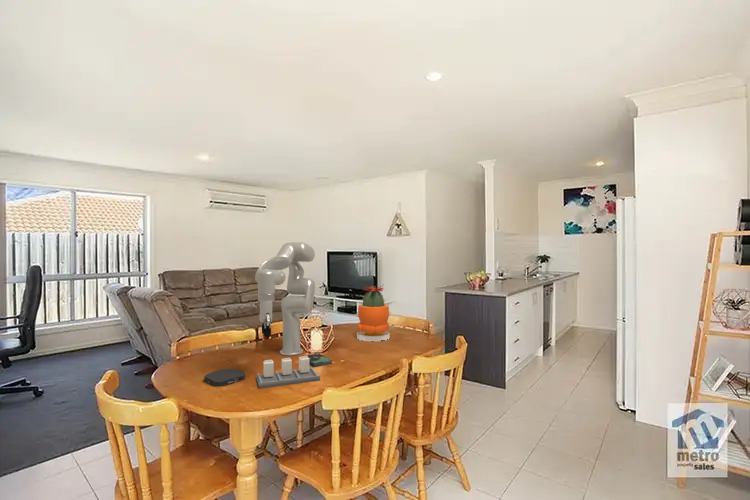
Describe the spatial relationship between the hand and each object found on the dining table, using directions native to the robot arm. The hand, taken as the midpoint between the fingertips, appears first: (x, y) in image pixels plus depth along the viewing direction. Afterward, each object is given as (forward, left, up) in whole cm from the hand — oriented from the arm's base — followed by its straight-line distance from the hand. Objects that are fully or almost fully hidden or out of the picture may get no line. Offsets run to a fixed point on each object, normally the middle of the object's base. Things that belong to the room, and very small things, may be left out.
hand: (266, 334), depth 176 cm
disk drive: (-8, +26, -19) cm, 33 cm away
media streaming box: (+2, -18, -18) cm, 26 cm away
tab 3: (+9, +16, -16) cm, 25 cm away
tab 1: (+9, 0, -16) cm, 19 cm away
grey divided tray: (+12, +8, -18) cm, 23 cm away
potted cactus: (-42, +72, -18) cm, 85 cm away
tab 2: (+9, +8, -16) cm, 20 cm away
